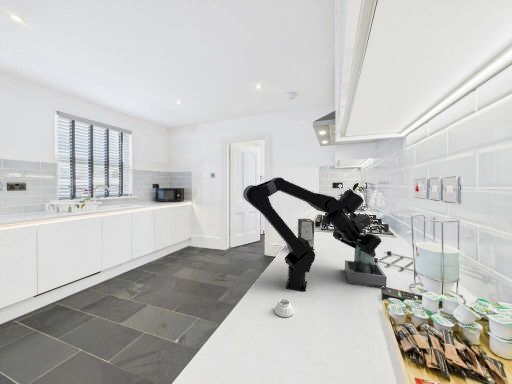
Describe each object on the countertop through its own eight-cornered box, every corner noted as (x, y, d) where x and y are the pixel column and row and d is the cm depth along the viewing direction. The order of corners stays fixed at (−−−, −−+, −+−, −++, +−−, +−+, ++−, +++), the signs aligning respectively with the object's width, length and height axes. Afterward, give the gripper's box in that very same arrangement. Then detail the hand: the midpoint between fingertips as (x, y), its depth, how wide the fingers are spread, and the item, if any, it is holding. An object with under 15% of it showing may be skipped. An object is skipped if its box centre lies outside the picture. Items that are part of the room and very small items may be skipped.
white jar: (274, 306, 59) (275, 318, 54) (274, 296, 59) (275, 306, 54) (292, 307, 58) (294, 319, 53) (292, 297, 58) (295, 307, 53)
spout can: (371, 278, 72) (373, 232, 71) (351, 272, 76) (353, 229, 75) (375, 272, 77) (377, 229, 76) (356, 267, 81) (358, 227, 80)
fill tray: (386, 289, 69) (386, 277, 69) (347, 283, 73) (348, 271, 73) (377, 274, 80) (377, 264, 80) (344, 270, 84) (344, 260, 84)
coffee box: (313, 255, 100) (314, 221, 99) (300, 255, 100) (301, 221, 99) (309, 249, 109) (310, 218, 108) (296, 248, 109) (297, 218, 109)
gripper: (378, 210, 65) (404, 244, 68) (340, 204, 83) (363, 230, 86) (355, 236, 64) (383, 269, 67) (322, 224, 82) (345, 250, 85)
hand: (367, 252), depth 76 cm, fingers closed on spout can, 6 cm apart
